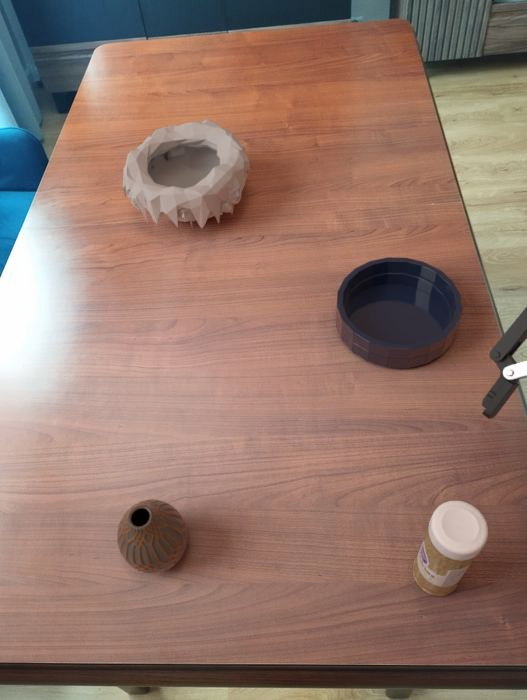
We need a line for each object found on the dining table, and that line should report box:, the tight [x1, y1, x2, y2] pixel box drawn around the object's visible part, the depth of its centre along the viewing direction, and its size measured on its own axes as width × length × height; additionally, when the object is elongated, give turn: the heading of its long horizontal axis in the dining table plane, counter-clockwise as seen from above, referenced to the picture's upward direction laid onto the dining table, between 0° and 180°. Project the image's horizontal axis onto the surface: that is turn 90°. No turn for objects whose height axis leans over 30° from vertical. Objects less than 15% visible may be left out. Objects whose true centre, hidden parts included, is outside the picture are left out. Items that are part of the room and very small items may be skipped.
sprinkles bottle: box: [412, 500, 489, 597], centre depth 53 cm, size 5×5×13 cm
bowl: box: [122, 118, 251, 229], centre depth 93 cm, size 21×20×10 cm
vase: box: [116, 498, 189, 574], centre depth 59 cm, size 7×7×9 cm
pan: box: [335, 256, 463, 369], centre depth 76 cm, size 16×16×4 cm
